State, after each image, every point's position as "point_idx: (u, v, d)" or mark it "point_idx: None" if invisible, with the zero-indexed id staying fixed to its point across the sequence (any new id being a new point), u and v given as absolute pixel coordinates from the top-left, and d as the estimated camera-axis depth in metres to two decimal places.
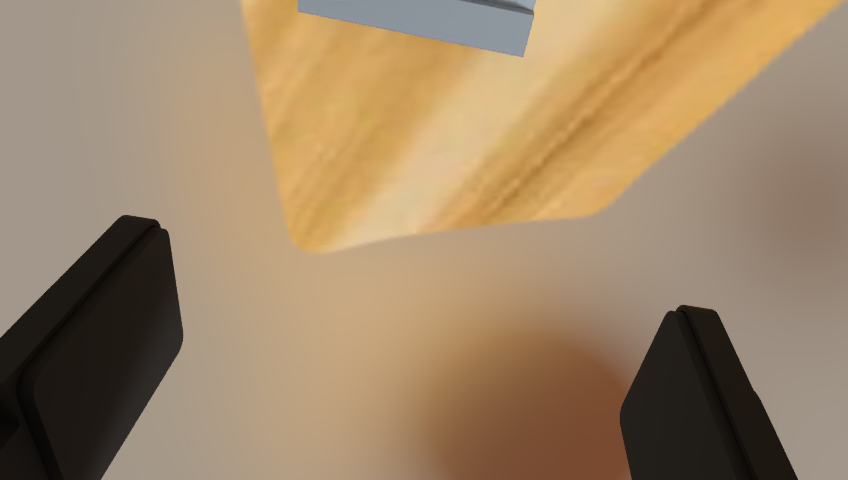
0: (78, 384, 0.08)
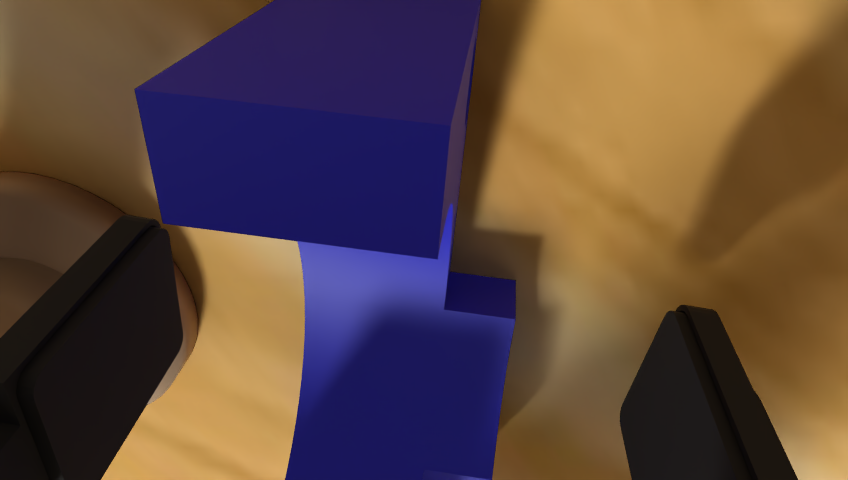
0: (78, 384, 0.08)
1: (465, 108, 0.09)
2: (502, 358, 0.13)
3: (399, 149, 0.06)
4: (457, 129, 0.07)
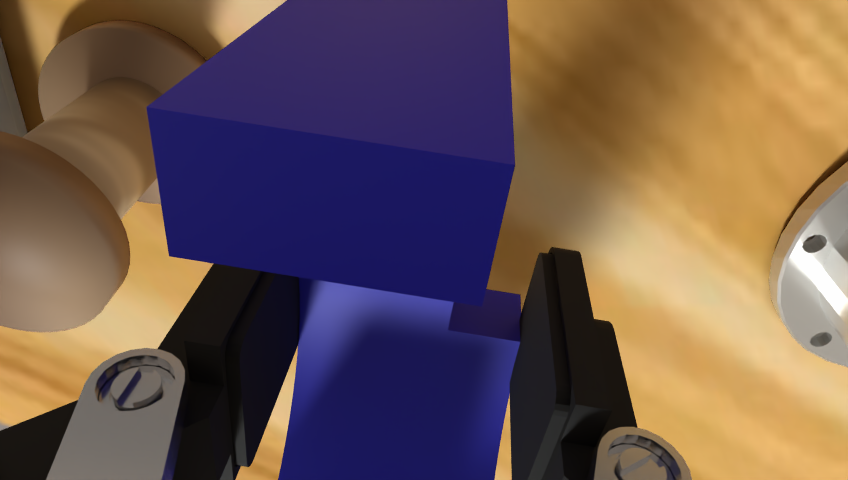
0: (258, 352, 0.09)
1: None
2: (506, 381, 0.12)
3: (451, 187, 0.05)
4: None
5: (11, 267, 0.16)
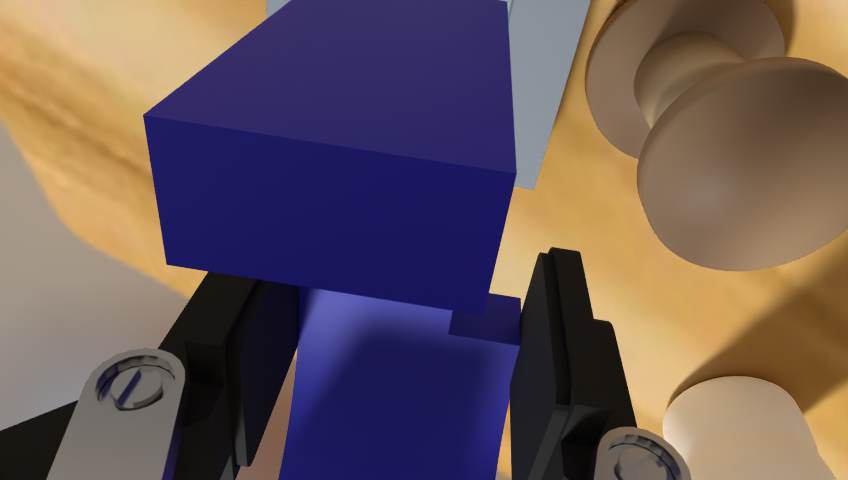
0: (258, 352, 0.09)
1: None
2: (506, 385, 0.12)
3: (454, 195, 0.05)
4: None
5: (759, 201, 0.16)
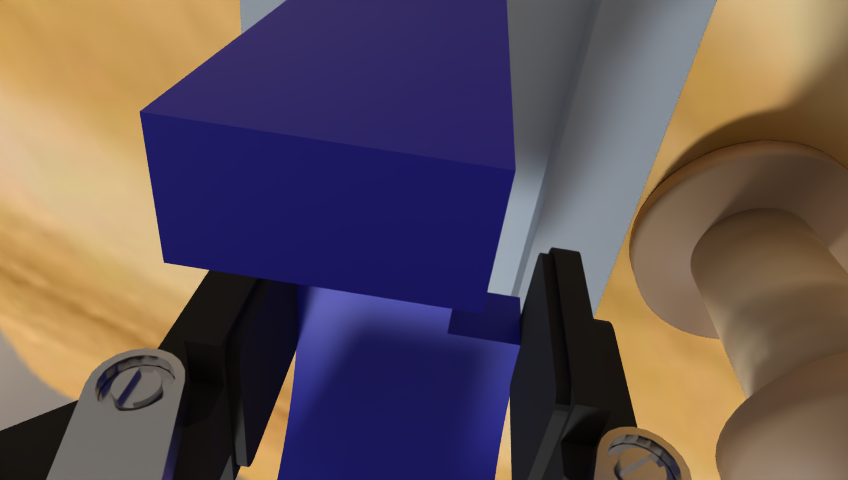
0: (258, 352, 0.09)
1: None
2: (505, 385, 0.12)
3: (452, 194, 0.05)
4: None
5: None
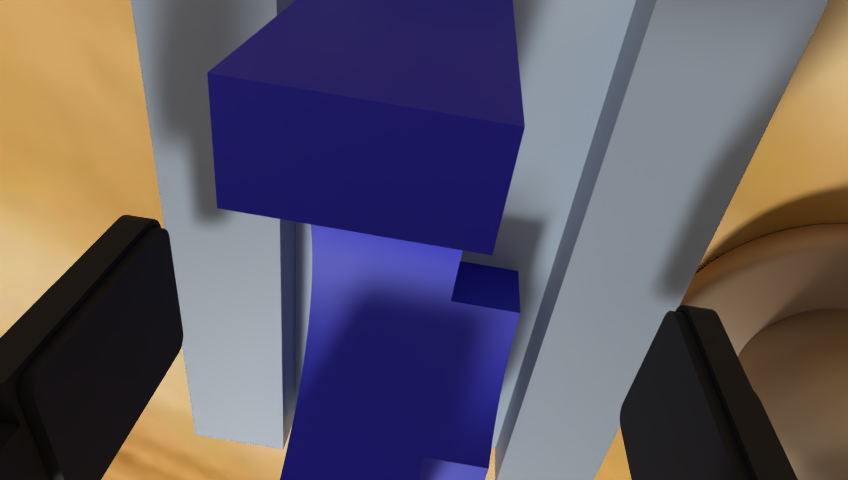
0: (78, 384, 0.08)
1: None
2: (504, 350, 0.13)
3: (469, 147, 0.06)
4: None
5: None
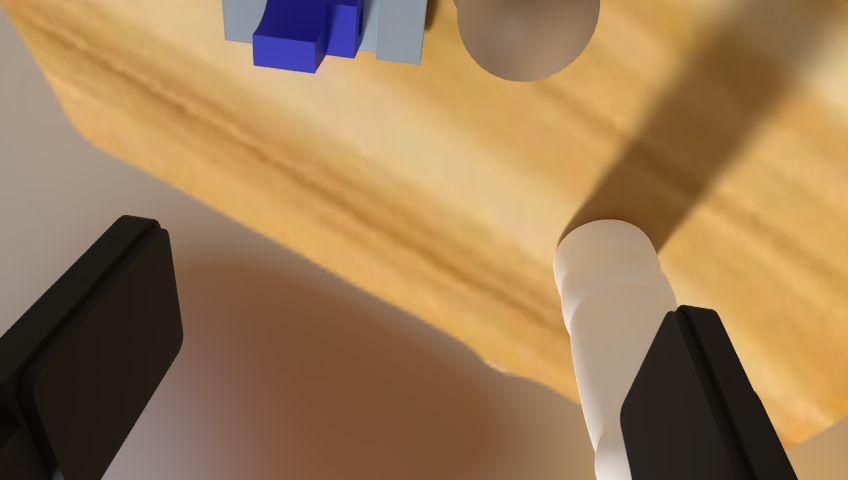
0: (78, 384, 0.08)
1: None
2: None
3: None
4: None
5: (529, 27, 0.26)
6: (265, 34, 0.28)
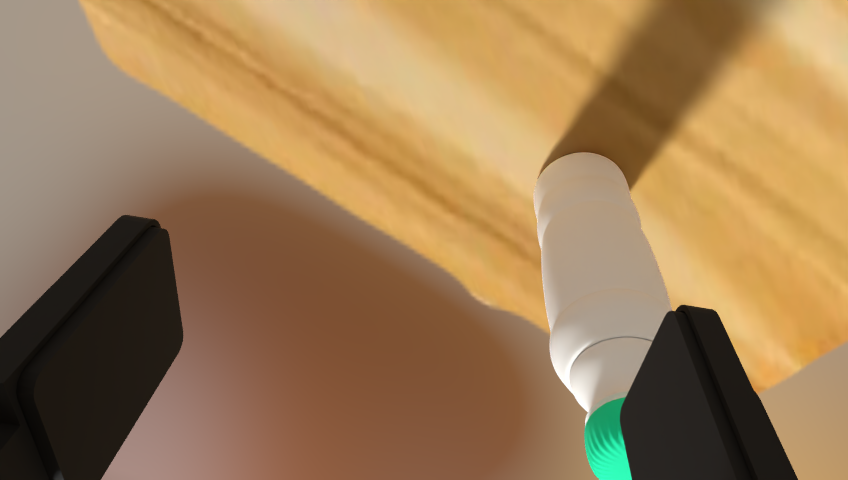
0: (78, 384, 0.08)
1: None
2: None
3: None
4: None
5: None
6: None
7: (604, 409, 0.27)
